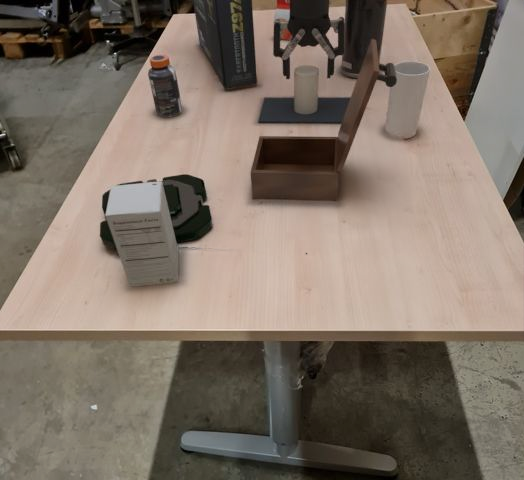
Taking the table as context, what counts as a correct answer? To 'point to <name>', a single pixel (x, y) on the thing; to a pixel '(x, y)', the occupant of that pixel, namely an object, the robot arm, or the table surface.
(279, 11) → the ink box
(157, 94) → the pill bottle
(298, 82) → the canister
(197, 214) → the clover-shaped pad
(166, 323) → the table surface
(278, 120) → the mat
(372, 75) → the bin lid
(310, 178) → the bread bin
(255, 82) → the box
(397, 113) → the white cylindrical cup
